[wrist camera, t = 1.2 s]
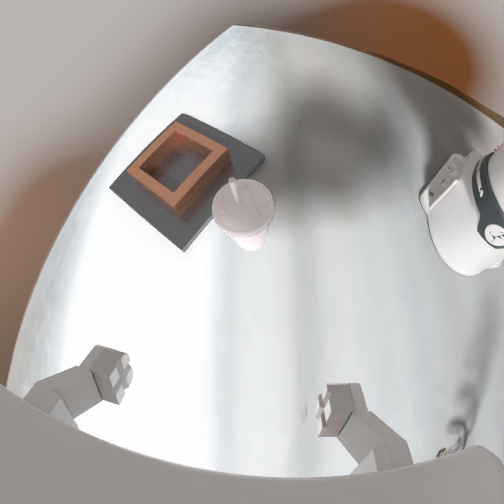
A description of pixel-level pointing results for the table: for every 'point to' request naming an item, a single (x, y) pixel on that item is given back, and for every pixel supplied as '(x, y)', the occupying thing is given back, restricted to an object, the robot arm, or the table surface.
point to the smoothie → (244, 212)
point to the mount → (183, 177)
